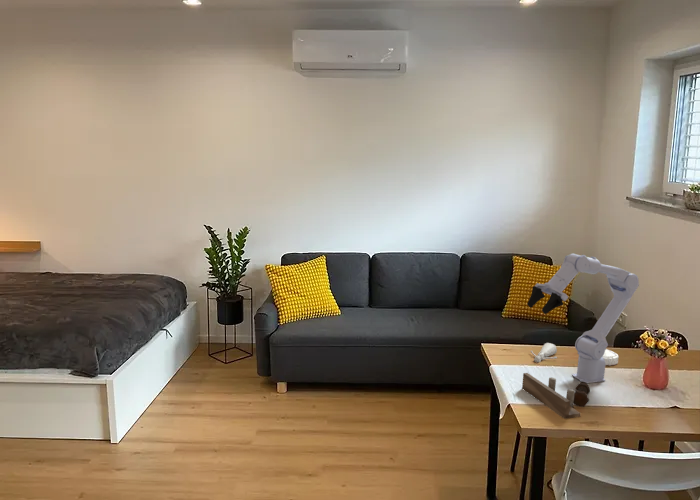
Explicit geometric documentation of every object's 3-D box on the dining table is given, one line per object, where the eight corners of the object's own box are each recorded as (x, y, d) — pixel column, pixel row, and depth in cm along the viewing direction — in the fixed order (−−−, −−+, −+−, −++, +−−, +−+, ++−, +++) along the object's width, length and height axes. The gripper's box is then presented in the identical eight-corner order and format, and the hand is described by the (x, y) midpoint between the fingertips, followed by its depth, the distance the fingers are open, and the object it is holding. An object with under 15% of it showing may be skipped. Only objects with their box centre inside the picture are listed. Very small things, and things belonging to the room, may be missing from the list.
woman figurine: (566, 344, 253) (550, 359, 239) (565, 354, 254) (549, 369, 240) (539, 338, 260) (522, 351, 246) (538, 347, 261) (521, 361, 247)
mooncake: (584, 361, 246) (585, 353, 245) (588, 353, 256) (589, 345, 256) (616, 368, 241) (617, 359, 240) (619, 358, 251) (620, 350, 250)
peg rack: (541, 386, 220) (543, 370, 219) (585, 415, 198) (587, 398, 196) (521, 388, 217) (523, 373, 216) (564, 418, 195) (566, 401, 194)
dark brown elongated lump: (585, 395, 218) (580, 410, 205) (573, 386, 220) (568, 400, 206) (595, 384, 216) (591, 398, 203) (583, 374, 217) (578, 388, 204)
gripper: (540, 268, 219) (517, 296, 217) (569, 279, 206) (545, 308, 204) (549, 281, 222) (526, 308, 220) (579, 291, 209) (554, 320, 207)
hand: (536, 309), depth 212 cm, fingers open, 7 cm apart
